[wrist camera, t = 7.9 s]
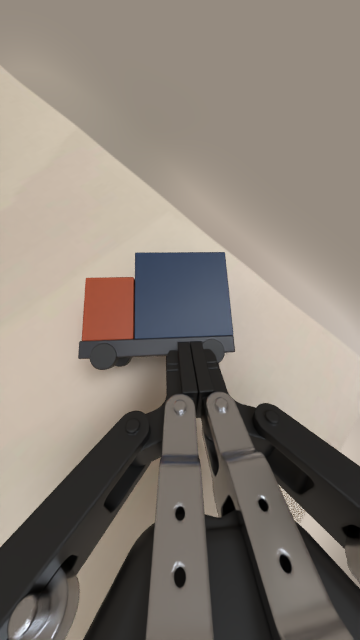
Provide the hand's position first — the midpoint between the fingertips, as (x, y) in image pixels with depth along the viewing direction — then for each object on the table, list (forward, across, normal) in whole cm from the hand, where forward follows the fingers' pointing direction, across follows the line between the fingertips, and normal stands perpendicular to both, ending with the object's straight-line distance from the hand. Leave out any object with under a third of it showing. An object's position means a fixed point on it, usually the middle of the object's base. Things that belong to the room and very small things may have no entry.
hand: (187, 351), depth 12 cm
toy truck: (+2, +2, +3) cm, 4 cm away
